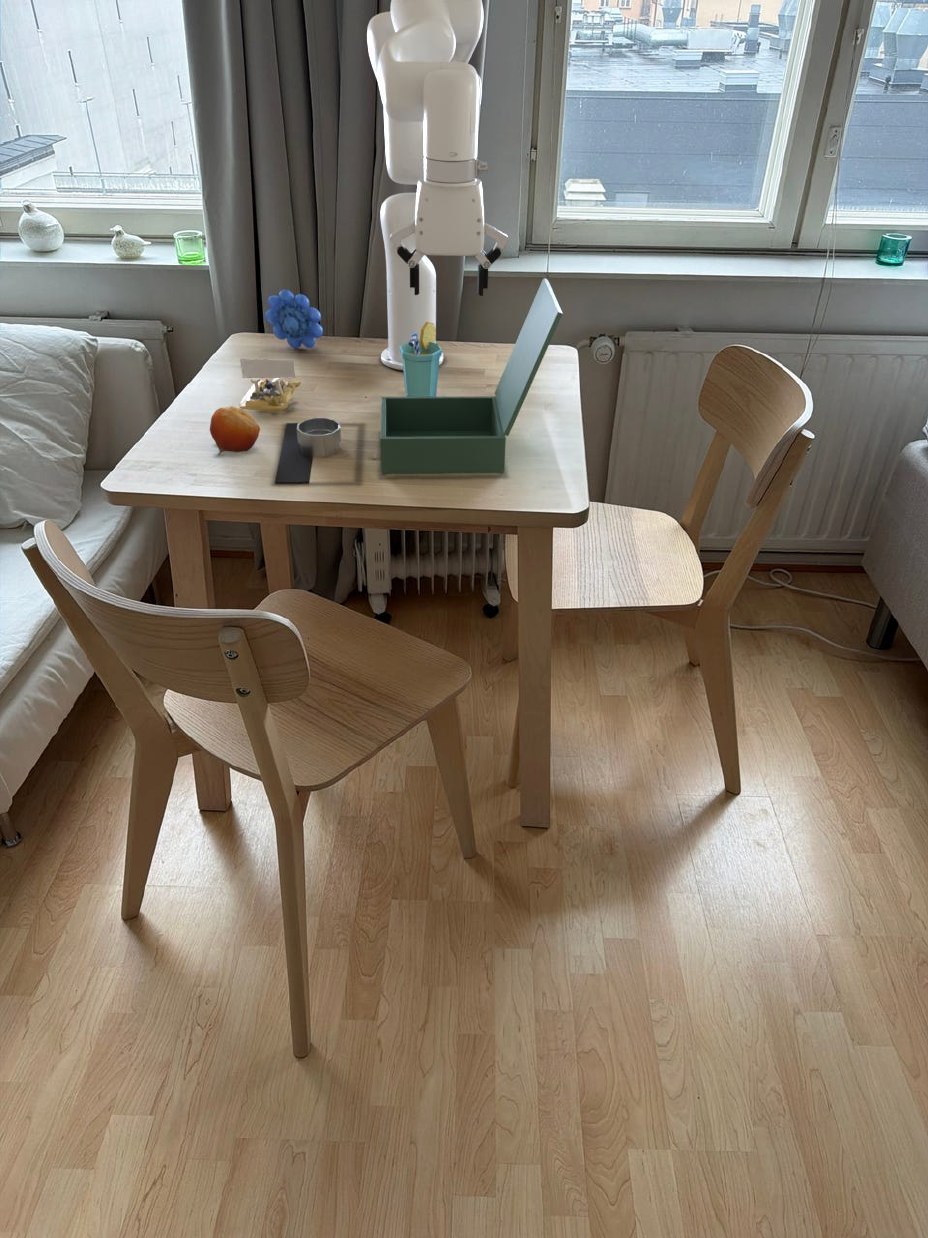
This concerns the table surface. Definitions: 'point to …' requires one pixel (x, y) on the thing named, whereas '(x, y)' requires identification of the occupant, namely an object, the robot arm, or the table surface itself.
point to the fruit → (233, 429)
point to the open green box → (441, 435)
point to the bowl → (319, 437)
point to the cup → (421, 363)
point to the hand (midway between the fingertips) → (448, 292)
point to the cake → (268, 384)
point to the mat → (292, 460)
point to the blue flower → (294, 319)
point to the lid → (527, 355)
